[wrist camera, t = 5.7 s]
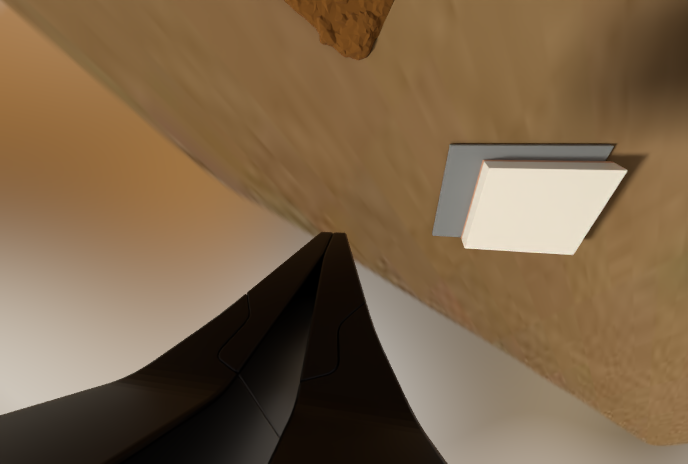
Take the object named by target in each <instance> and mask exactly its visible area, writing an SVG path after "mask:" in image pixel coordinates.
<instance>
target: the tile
mask: <svg viewBox="0 0 688 464" xmlns="http://www.w3.org/2000/svg"><path fill="white" fill-rule="evenodd" d="M627 171H628V170H626V169H625V168H623V167H621V166H619V165H618V164H616V163H614V162H612V161H554V160H483V161H482V165H481V168H480V172H479V175H478V179H477V182H476V186H475V189H474V193H473V196H472V200H471V204H470V207H469V211H468V214H467V218H466V221H465V225H464V228H463V232H462V235H461V239H462V242H463V245H464V248H470V249H486V250H502V251H518V252H534V253H550V254H566V255H573V254H574V253H575V251H576V250H577V248H578V247H579V245H580V243H581V242H582V240H583V239H584V237H585V236H586V234H587V233H588V231H589V230H590V228H591V226H592V225H593V223H594V222H595V220H596V219H597V217H598V216H599V214H600V213H601V211H602V210H603V208H604V206H605V205H606V203H607V202H608V200H609V199H610V197H611V196H612V194H613V193H614V191H615V189H616V188H617V186H618V185H619V183H620V182H621V180H622V179H623V177H624V176H625V174H626V173H627Z"/></svg>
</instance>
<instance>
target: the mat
mask: <svg viewBox="0 0 688 464" xmlns="http://www.w3.org/2000/svg"><path fill="white" fill-rule="evenodd" d="M613 147H614V146H613V145H588V144H450V146H449V151H448V156H447V162H446V167H445V172H444V177H443V182H442V187H441V192H440V197H439V202H438V207H437V212H436V217H435V222H434V227H433V232H432V235H433V236H450V237H461V235H462V232H463V228H464V225H465V221H466V218H467V214H468V211H469V207H470V204H471V200H472V196H473V193H474V189H475V186H476V182H477V179H478V175H479V172H480V168H481V165H482V161H483V160H554V161H606V159H607V157H608V155H609V154H610V152H611V150H612V149H613Z"/></svg>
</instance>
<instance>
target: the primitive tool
mask: <svg viewBox="0 0 688 464" xmlns="http://www.w3.org/2000/svg"><path fill="white" fill-rule="evenodd" d="M284 1H285V2H286V3H287V4H289V5H290V6H291V7H292V8H293V9H294V10H295V11H296V12H297V13H298V14H300V15H301V16H303V17H304V18H305V19H306V20H307V21H308V22H309V23H310V24H311V25H313V26H314V27H315V28H316V29H317V31H318V32H319V34H320V42H321V43H322V44H324V45H329V46H333V47H334V48H335V49H336V50H337V51H338V52H339V53H340V54H341V55H342V56H344V57H351V58H353V59H356V60H360V59H363V58H366V57H367V56H368V54H369V53H370V51H371V49H372V46H373V43H374V41H375V40H376V38H377V37H378V36H379V33H380V31H381V29H382V26H383V23H384V21H385V19H386V17H387V15H388V13H389V11H390V8H391V6H392V4H393V2H394V0H284Z"/></svg>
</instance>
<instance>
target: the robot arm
mask: <svg viewBox="0 0 688 464" xmlns="http://www.w3.org/2000/svg"><path fill="white" fill-rule="evenodd" d="M0 464H447V462H446V461H445V460H444V458H443V457H442V455H441V454H440V453H439V451H438V450H437V448H436V447H435V446H434V444H433V443H432V441H431V440H430V439H429V437H428V436H427V435H426V433H425V432H424V430H423V428H422V427H421V425H420V423H419V422H418V420H417V418H416V416H415V415H414V413H413V411H412V409H411V407H410V405H409V403H408V401H407V399H406V397H405V395H404V393H403V391H402V389H401V387H400V384H399V382H398V380H397V378H396V376H395V374H394V372H393V369H392V367H391V365H390V363H389V361H388V359H387V356H386V354H385V352H384V350H383V348H382V346H381V343H380V341H379V338H378V336H377V334H376V331H375V328H374V326H373V322H372V319H371V316H370V313H369V310H368V306H367V304H366V300H365V297H364V293H363V290H362V287H361V283H360V280H359V276H358V273H357V269H356V266H355V263H354V259H353V256H352V252H351V249H350V246H349V242H348V239H347V235H346V233H334V234H333V233H332V232H321V233H319V234H318V235H317V236H316V237H314V238H313V239H312V240H311V241H310V242H308V243H307V244H306V245H305V246H304V247H302V248H301V249H300V250H299V251H297V252H296V253H295V254H294V255H292V256H291V257H290V258H289V259H288V260H287V261H285V262H284V263H283V264H281V265H280V266H279V267H278V268H277V269H275V270H274V271H273V272H272V273H271V274H269V275H268V276H267V277H266V278H264V279H263V280H262V281H261V282H259V283H258V284H257V285H256V286H255V287H253V288H252V289H251V290H250V291H248V292H247V295H246V294H245V295H243V296H242V297H241V298H240V299H239V300H238V301H236V302H235V303H234V304H232V305H231V306H230V307H228V308H227V309H226V310H225V311H223V312H222V313H221V314H220V315H218V316H217V317H215V318H214V319H213V320H211V321H210V322H208V323H207V324H206V325H204V326H203V327H202V328H200V329H199V330H198V331H196V332H194V333H193V334H191V335H190V336H189V337H187V338H186V339H184V340H183V341H181V342H180V343H179V344H177V345H176V346H174V347H173V348H171V349H170V350H168V351H167V352H166V353H164V354H163V355H161V356H160V357H158V358H157V359H156V360H154V361H153V362H151V363H150V364H148V365H146V366H145V367H143V368H142V369H140V370H138V371H136V372H135V373H133V374H130V375H128V376H127V377H124V378H122V379H119V380H117V381H114V382H111V383H108V384H105V385H102V386H98V387H95V388H91V389H88V390H84V391H81V392H78V393H74V394H71V395H68V396H64V397H61V398H57V399H54V400H51V401H47V402H44V403H41V404H37V405H34V406H31V407H27V408H23V409H20V410H17V411H14V412H10V413H7V414H3V415H0Z"/></svg>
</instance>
